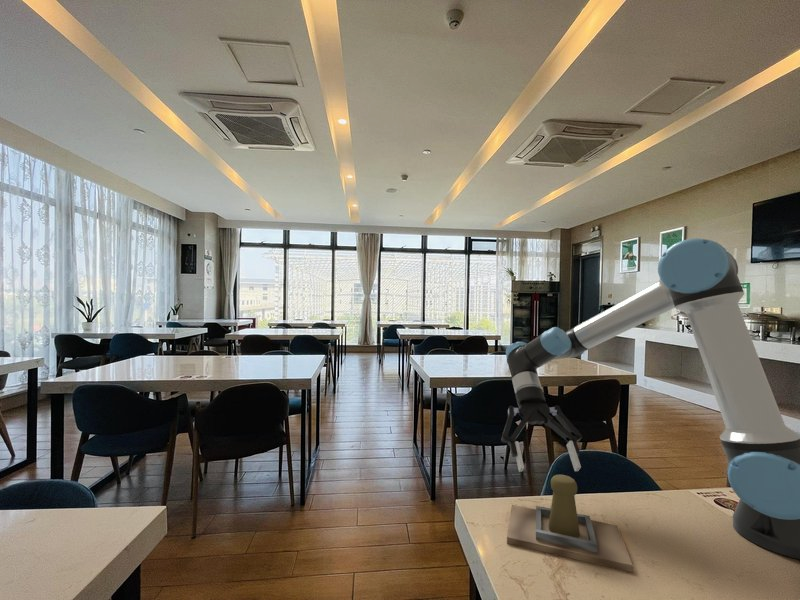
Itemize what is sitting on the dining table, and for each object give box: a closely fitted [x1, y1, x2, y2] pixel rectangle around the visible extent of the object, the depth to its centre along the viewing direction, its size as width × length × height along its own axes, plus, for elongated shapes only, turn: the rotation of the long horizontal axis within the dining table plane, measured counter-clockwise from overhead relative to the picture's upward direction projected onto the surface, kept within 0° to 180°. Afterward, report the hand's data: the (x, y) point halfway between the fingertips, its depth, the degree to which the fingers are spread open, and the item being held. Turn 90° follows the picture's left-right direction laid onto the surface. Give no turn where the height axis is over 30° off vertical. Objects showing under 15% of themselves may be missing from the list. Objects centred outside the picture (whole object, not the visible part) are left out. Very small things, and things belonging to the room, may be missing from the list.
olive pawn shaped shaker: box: [549, 474, 580, 538], centre depth 76 cm, size 6×6×11 cm
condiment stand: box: [506, 504, 634, 573], centre depth 76 cm, size 22×14×3 cm, turn 69°
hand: (549, 469), depth 88 cm, fingers open, 13 cm apart
